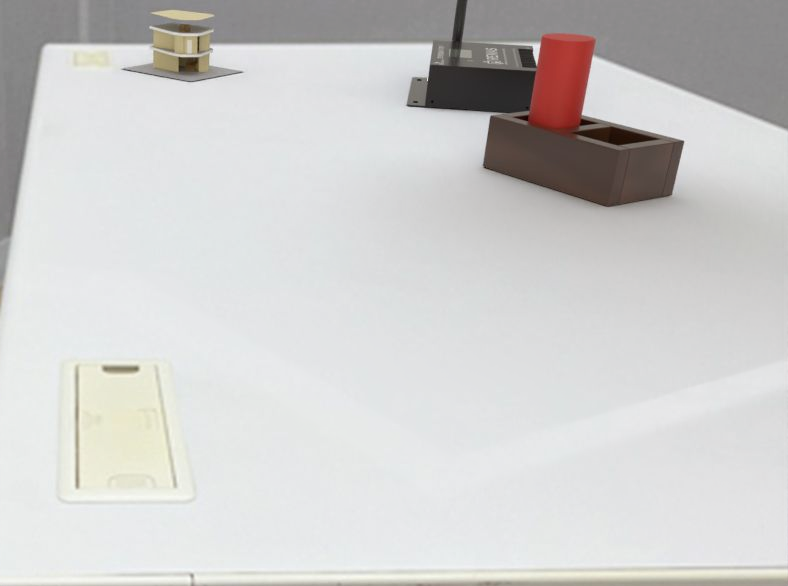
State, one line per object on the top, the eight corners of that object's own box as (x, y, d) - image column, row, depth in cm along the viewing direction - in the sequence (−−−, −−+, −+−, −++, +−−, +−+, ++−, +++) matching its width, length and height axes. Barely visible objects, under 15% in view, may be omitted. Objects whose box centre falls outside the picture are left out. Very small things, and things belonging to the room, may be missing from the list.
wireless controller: (551, 115, 116) (587, -88, 107) (406, 105, 118) (429, -95, 109) (540, 79, 133) (570, -99, 124) (413, 71, 135) (433, -105, 126)
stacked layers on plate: (120, 68, 131) (120, 13, 128) (174, 59, 137) (175, 6, 134) (190, 81, 126) (192, 24, 123) (243, 71, 132) (246, 16, 129)
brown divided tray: (545, 157, 101) (553, 107, 99) (672, 195, 92) (685, 140, 90) (482, 167, 98) (489, 115, 96) (607, 206, 89) (619, 150, 86)
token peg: (544, 163, 99) (567, 31, 94) (581, 174, 97) (607, 39, 91) (509, 169, 98) (530, 34, 92) (545, 180, 95) (570, 42, 89)
